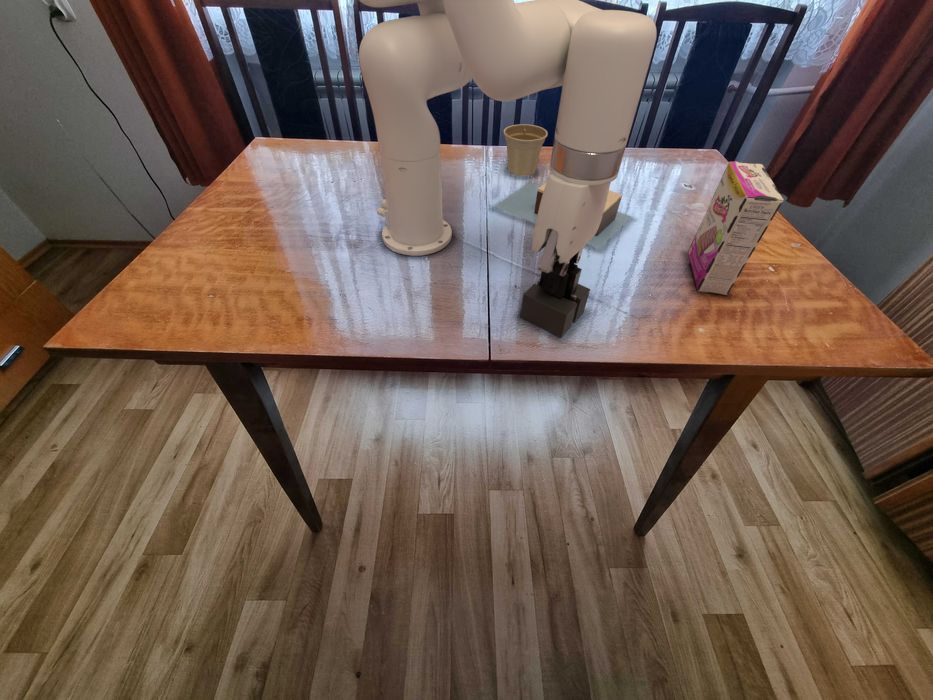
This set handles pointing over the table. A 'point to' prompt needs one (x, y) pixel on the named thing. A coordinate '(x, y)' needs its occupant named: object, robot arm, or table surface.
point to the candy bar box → (732, 226)
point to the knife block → (553, 309)
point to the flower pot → (524, 147)
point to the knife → (571, 283)
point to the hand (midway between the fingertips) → (557, 288)
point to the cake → (609, 210)
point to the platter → (525, 207)
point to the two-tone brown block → (539, 198)
